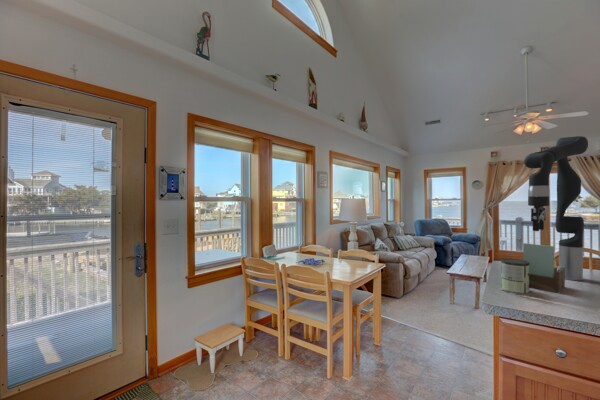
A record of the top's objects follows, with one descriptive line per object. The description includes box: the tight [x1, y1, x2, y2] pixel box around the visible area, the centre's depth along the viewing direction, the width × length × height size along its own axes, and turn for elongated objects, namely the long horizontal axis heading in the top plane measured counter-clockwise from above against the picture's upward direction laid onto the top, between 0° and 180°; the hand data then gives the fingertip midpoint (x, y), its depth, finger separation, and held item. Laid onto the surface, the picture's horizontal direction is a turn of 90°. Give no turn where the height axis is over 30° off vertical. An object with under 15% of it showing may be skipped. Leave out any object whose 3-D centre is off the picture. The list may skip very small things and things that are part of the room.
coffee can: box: [500, 258, 530, 296], centre depth 127 cm, size 10×10×14 cm
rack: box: [529, 267, 566, 294], centre depth 132 cm, size 14×15×10 cm
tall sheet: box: [522, 242, 555, 278], centre depth 129 cm, size 1×11×20 cm, turn 38°
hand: (538, 230), depth 129 cm, fingers open, 8 cm apart
